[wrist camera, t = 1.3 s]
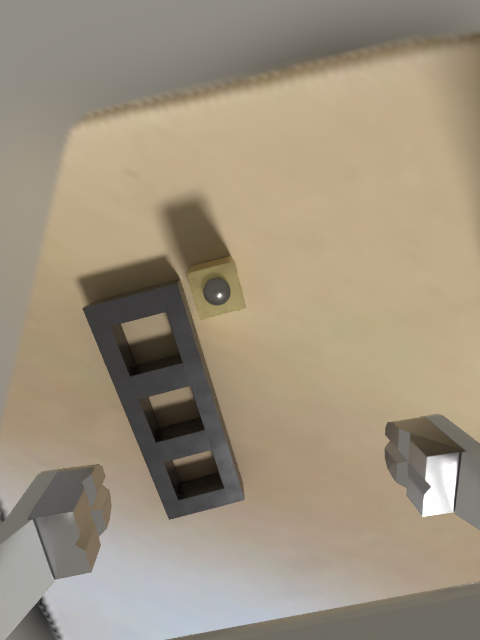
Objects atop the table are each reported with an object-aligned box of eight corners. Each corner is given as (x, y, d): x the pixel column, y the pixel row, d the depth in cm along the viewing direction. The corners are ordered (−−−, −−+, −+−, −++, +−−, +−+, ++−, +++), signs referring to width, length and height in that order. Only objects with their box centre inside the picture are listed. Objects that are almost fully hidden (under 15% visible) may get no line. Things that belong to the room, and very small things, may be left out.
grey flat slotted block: (180, 279, 31) (177, 283, 29) (242, 483, 38) (244, 499, 36) (92, 302, 31) (82, 308, 29) (172, 501, 38) (169, 519, 36)
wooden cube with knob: (231, 255, 31) (234, 261, 25) (240, 293, 32) (246, 309, 26) (191, 265, 31) (185, 274, 25) (203, 303, 32) (199, 321, 26)
